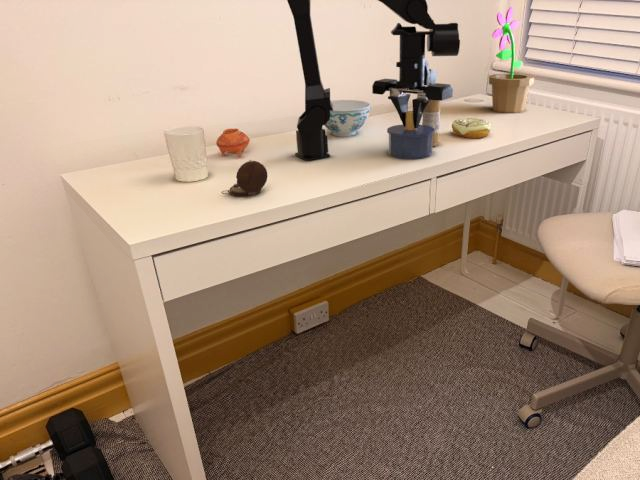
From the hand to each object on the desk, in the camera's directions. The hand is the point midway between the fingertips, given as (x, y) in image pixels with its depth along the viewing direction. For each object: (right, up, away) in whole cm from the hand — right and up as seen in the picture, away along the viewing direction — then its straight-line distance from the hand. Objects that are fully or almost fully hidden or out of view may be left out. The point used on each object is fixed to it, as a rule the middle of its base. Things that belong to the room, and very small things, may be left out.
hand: (411, 127), depth 132 cm
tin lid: (0, -1, +1) cm, 1 cm away
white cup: (-48, -15, -13) cm, 52 cm away
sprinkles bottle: (+5, -2, +10) cm, 12 cm away
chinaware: (-18, +4, +22) cm, 28 cm away
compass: (-34, -20, -23) cm, 46 cm away
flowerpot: (+34, +20, +50) cm, 64 cm away
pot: (-43, -6, +3) cm, 43 cm away
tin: (0, -6, +3) cm, 6 cm away
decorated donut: (+17, +4, +20) cm, 27 cm away
